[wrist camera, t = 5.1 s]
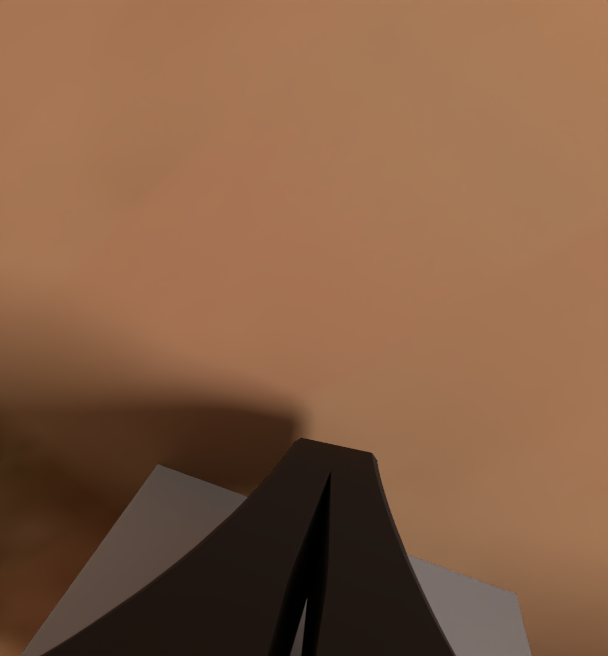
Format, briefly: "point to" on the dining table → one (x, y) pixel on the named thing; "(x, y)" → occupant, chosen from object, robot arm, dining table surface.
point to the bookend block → (199, 521)
